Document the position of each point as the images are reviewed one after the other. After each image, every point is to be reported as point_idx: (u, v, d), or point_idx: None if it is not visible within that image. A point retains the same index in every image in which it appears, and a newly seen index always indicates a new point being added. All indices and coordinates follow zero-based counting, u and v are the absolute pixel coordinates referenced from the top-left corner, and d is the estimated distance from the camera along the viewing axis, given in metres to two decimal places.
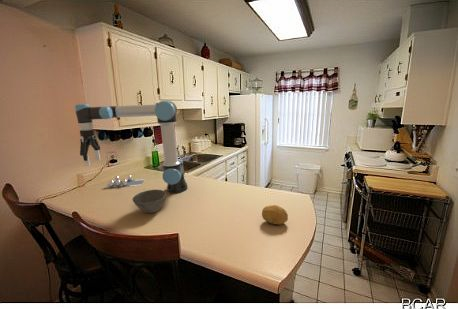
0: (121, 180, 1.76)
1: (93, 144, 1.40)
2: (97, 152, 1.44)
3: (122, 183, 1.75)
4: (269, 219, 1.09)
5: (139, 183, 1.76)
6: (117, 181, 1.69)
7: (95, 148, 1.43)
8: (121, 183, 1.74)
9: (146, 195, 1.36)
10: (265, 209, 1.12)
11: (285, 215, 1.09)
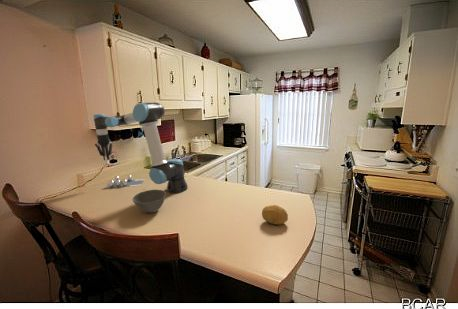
0: (121, 180, 1.76)
1: None
2: None
3: (122, 183, 1.75)
4: (269, 219, 1.09)
5: (139, 183, 1.76)
6: (117, 181, 1.69)
7: None
8: (121, 183, 1.74)
9: (146, 195, 1.36)
10: (265, 209, 1.12)
11: (285, 215, 1.09)
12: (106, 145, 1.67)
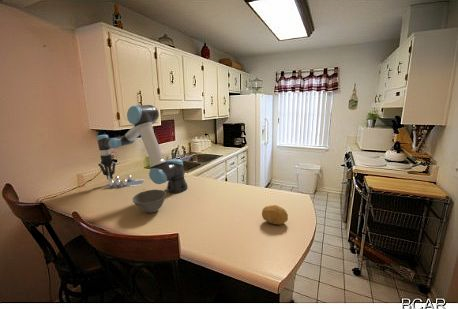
0: (121, 180, 1.76)
1: None
2: None
3: (122, 183, 1.75)
4: (269, 219, 1.09)
5: (139, 183, 1.76)
6: (117, 181, 1.69)
7: None
8: (121, 183, 1.74)
9: (146, 195, 1.36)
10: (265, 209, 1.12)
11: (285, 215, 1.09)
12: (109, 165, 1.71)
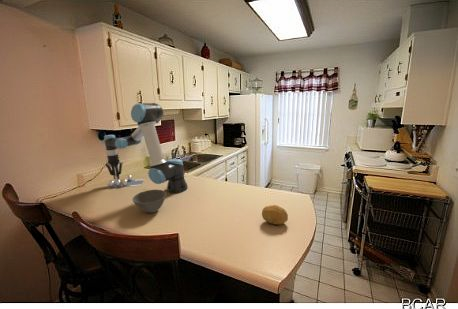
0: (121, 180, 1.76)
1: None
2: None
3: (122, 183, 1.75)
4: (269, 219, 1.09)
5: (139, 183, 1.76)
6: (117, 181, 1.69)
7: None
8: (121, 183, 1.74)
9: (146, 195, 1.36)
10: (265, 209, 1.12)
11: (285, 215, 1.09)
12: (116, 165, 1.71)
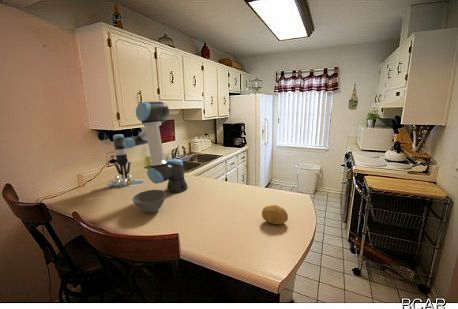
0: (129, 180, 1.76)
1: None
2: None
3: (129, 183, 1.75)
4: (269, 219, 1.09)
5: (139, 183, 1.76)
6: (117, 181, 1.69)
7: None
8: (128, 183, 1.74)
9: (146, 195, 1.36)
10: (265, 209, 1.12)
11: (285, 215, 1.09)
12: (124, 164, 1.72)
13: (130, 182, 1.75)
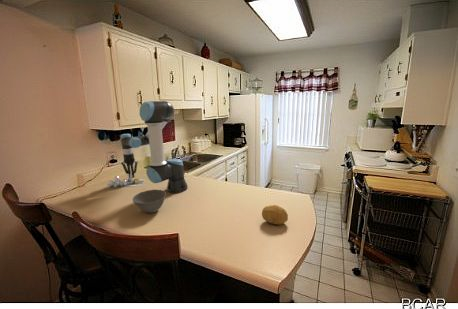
0: (136, 179, 1.77)
1: None
2: None
3: (136, 182, 1.75)
4: (269, 219, 1.09)
5: (139, 183, 1.76)
6: (117, 181, 1.69)
7: None
8: (135, 182, 1.75)
9: (146, 195, 1.36)
10: (265, 209, 1.12)
11: (285, 215, 1.09)
12: (132, 164, 1.73)
13: (137, 181, 1.75)
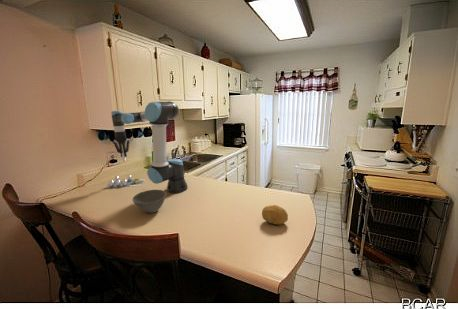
0: (136, 179, 1.77)
1: None
2: None
3: (137, 182, 1.75)
4: (269, 219, 1.09)
5: (139, 183, 1.76)
6: (117, 181, 1.69)
7: None
8: (136, 182, 1.75)
9: (146, 195, 1.36)
10: (265, 209, 1.12)
11: (285, 215, 1.09)
12: (123, 142, 1.67)
13: (137, 181, 1.75)
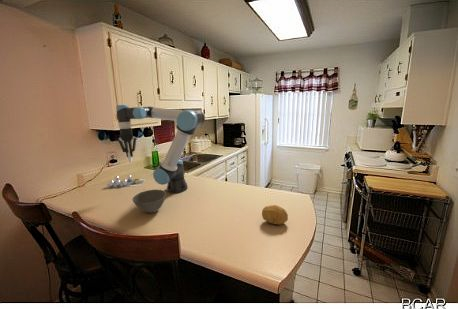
0: (136, 179, 1.77)
1: None
2: None
3: (137, 182, 1.75)
4: (269, 219, 1.09)
5: (139, 183, 1.76)
6: (117, 181, 1.69)
7: None
8: (136, 182, 1.75)
9: (146, 195, 1.36)
10: (265, 209, 1.12)
11: (285, 215, 1.09)
12: (130, 140, 1.48)
13: (137, 181, 1.75)
